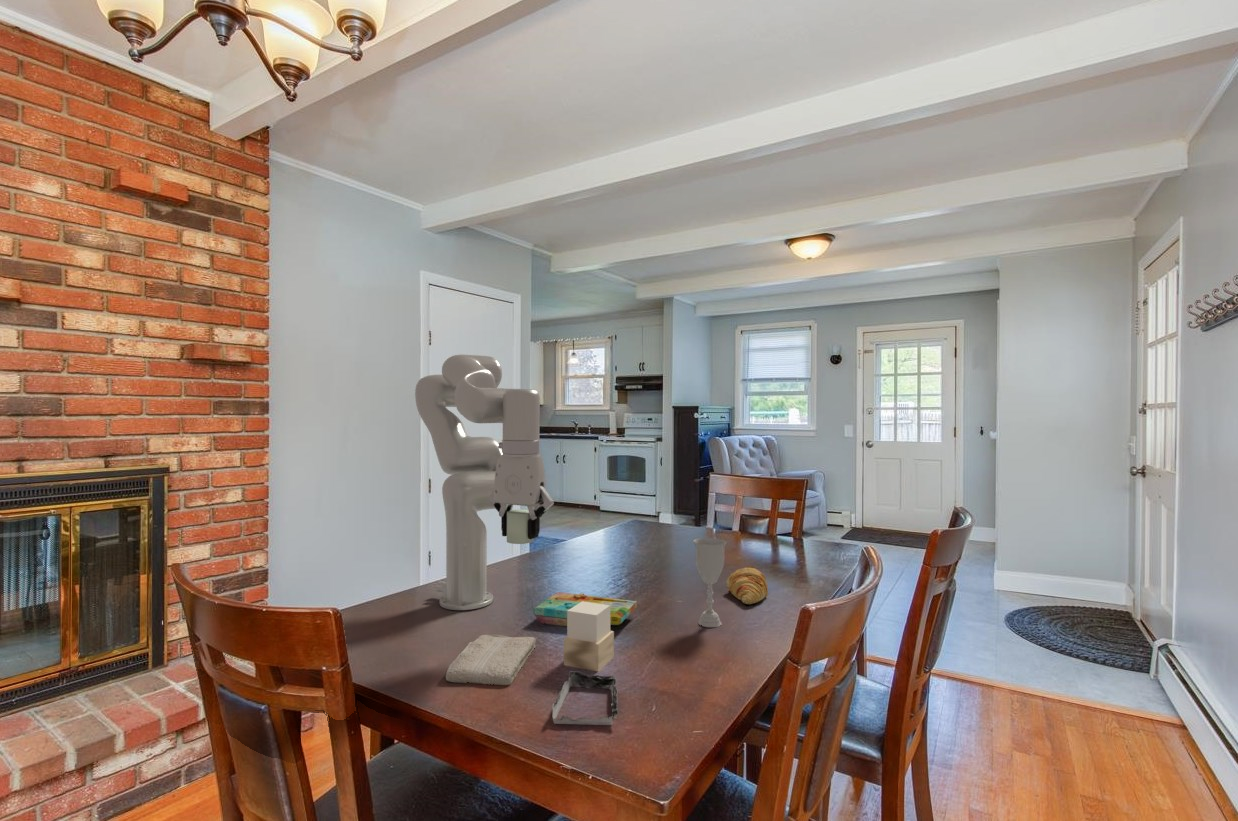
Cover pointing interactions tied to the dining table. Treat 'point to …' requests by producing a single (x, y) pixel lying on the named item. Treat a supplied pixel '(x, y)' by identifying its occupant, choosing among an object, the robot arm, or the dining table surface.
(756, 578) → the croissant
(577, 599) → the puzzle game
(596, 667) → the oak base block
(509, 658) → the washcloth
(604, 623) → the cream middle block
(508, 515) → the sage round block
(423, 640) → the dining table surface
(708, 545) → the chalice
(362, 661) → the dining table surface
